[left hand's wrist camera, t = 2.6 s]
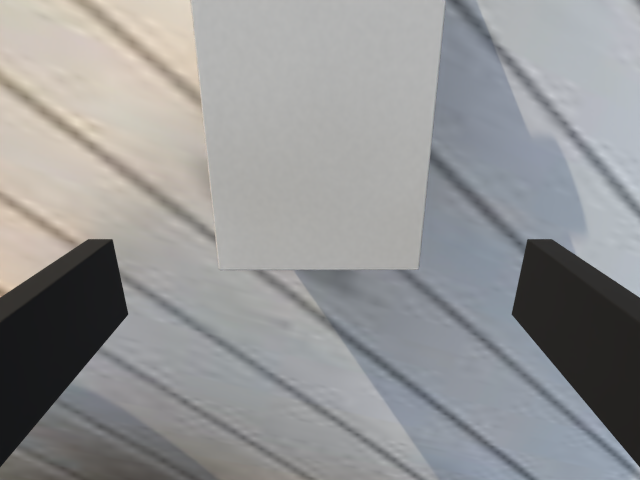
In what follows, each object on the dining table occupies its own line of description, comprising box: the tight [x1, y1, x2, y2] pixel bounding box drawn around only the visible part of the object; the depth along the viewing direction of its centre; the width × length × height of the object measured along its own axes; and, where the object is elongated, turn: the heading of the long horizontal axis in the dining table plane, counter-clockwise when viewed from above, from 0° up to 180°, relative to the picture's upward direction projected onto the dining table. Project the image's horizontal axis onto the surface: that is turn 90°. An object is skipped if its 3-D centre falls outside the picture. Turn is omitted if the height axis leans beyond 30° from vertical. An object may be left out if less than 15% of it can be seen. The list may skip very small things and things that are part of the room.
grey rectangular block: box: [191, 0, 446, 270], centre depth 22 cm, size 20×10×11 cm, turn 0°
